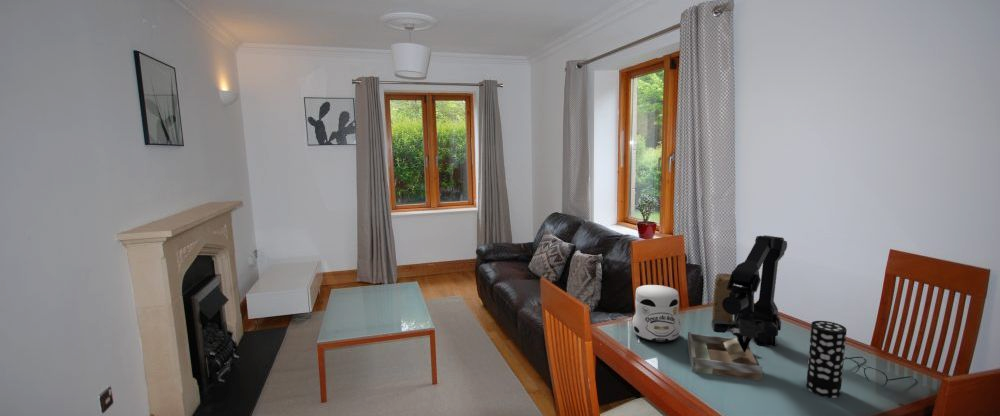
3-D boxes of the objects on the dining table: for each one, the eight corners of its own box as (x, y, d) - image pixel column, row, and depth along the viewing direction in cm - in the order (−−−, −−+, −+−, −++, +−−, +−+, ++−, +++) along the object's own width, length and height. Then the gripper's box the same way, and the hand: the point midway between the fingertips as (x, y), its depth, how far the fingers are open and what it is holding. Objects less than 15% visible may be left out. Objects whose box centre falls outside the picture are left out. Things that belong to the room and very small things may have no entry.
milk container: (658, 350, 162) (659, 302, 160) (622, 333, 177) (623, 289, 174) (689, 338, 171) (691, 293, 168) (653, 323, 186) (654, 281, 183)
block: (732, 328, 179) (735, 280, 176) (711, 325, 183) (713, 277, 180) (732, 319, 189) (735, 272, 186) (712, 316, 192) (715, 270, 189)
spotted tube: (799, 383, 139) (804, 321, 136) (825, 381, 139) (830, 320, 136) (820, 398, 130) (826, 333, 128) (847, 396, 131) (854, 331, 128)
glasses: (835, 368, 148) (838, 354, 148) (864, 365, 153) (867, 350, 153) (885, 390, 135) (888, 374, 134) (915, 385, 140) (918, 370, 140)
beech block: (742, 349, 153) (736, 337, 153) (745, 355, 148) (739, 343, 148) (729, 354, 154) (723, 342, 154) (732, 360, 150) (725, 348, 150)
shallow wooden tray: (748, 351, 160) (749, 338, 159) (761, 380, 141) (762, 365, 140) (687, 345, 166) (688, 332, 165) (692, 371, 147) (692, 357, 146)
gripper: (716, 313, 144) (716, 360, 145) (783, 316, 138) (782, 365, 140) (711, 302, 154) (711, 346, 156) (773, 304, 149) (772, 350, 151)
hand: (743, 351), depth 150 cm, fingers closed, pressing on beech block
